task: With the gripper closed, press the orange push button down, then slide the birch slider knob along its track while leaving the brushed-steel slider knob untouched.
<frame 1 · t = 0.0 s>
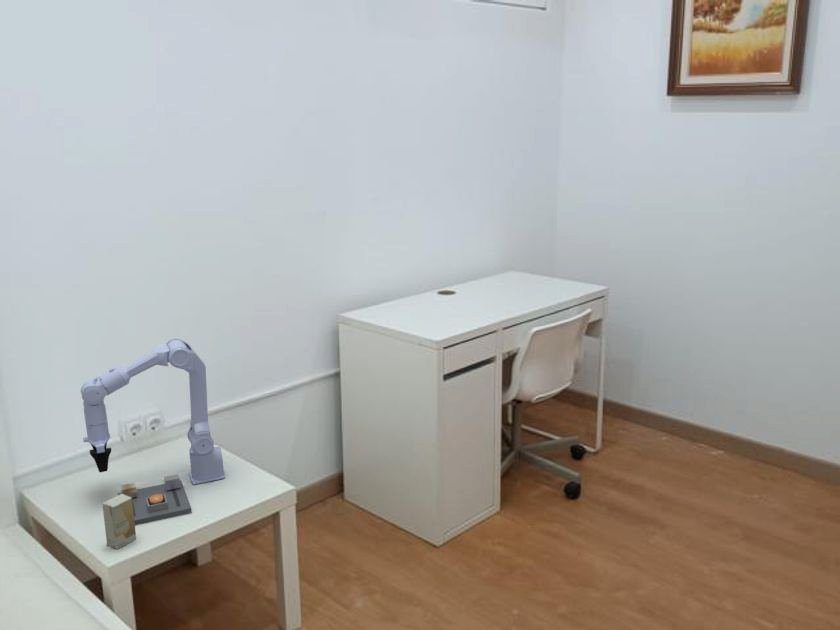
hand: (102, 465, 225), 10 cm above the table, fingers open, 7 cm apart
birch slider: (128, 491, 225), point 4 cm above the table, slide at 0.0 cm
control panel: (154, 505, 224), on the table
push button: (156, 499, 219), point 4 cm above the table, slide at 0.0 cm
steel slider: (172, 482, 229), point 3 cm above the table, slide at 0.0 cm
skincare box: (122, 542, 206), on the table
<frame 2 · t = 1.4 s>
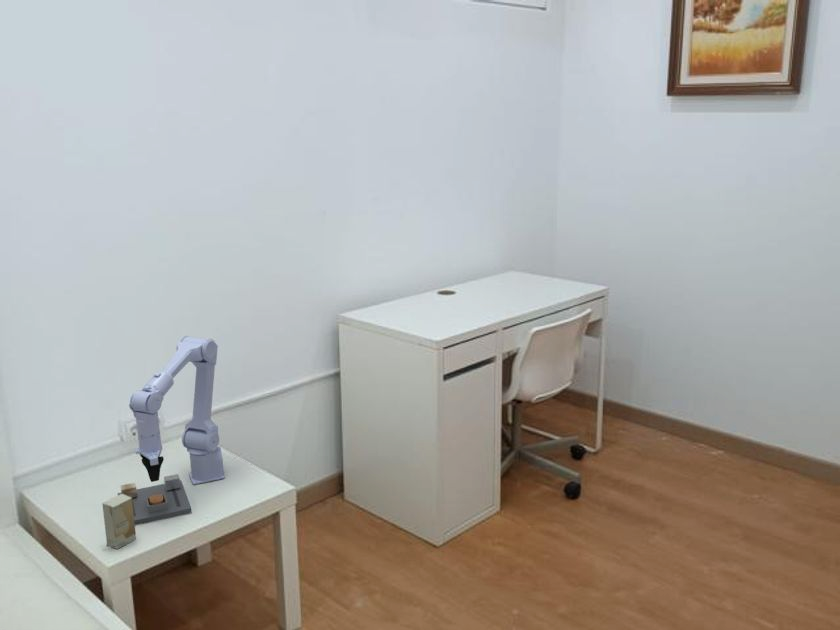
hand: (154, 478, 217), 10 cm above the table, fingers open, 3 cm apart
nothing on the table moved.
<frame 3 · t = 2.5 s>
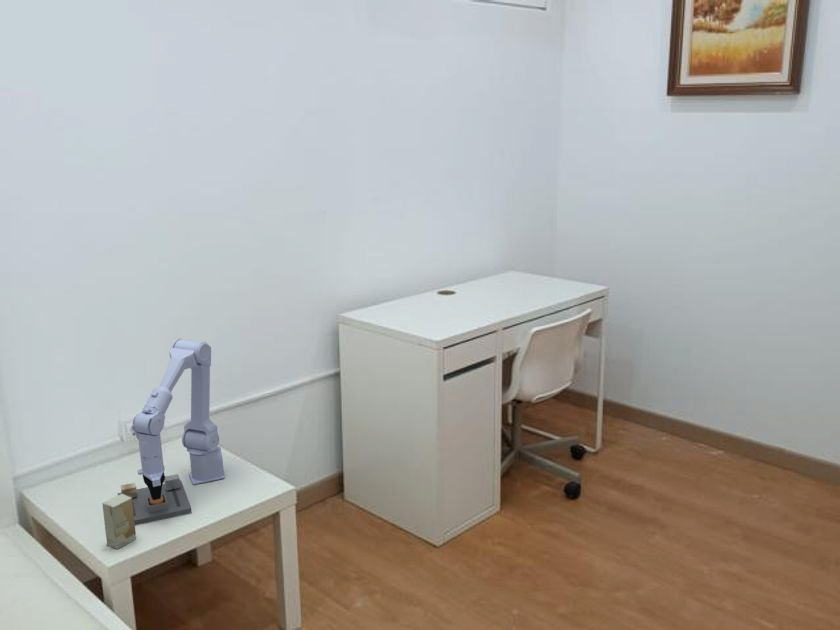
hand: (156, 498, 219), 4 cm above the table, fingers closed, pressing on push button
push button: (156, 500, 219), point 3 cm above the table, slide at 0.3 cm, touching gripper
everything else where it was.
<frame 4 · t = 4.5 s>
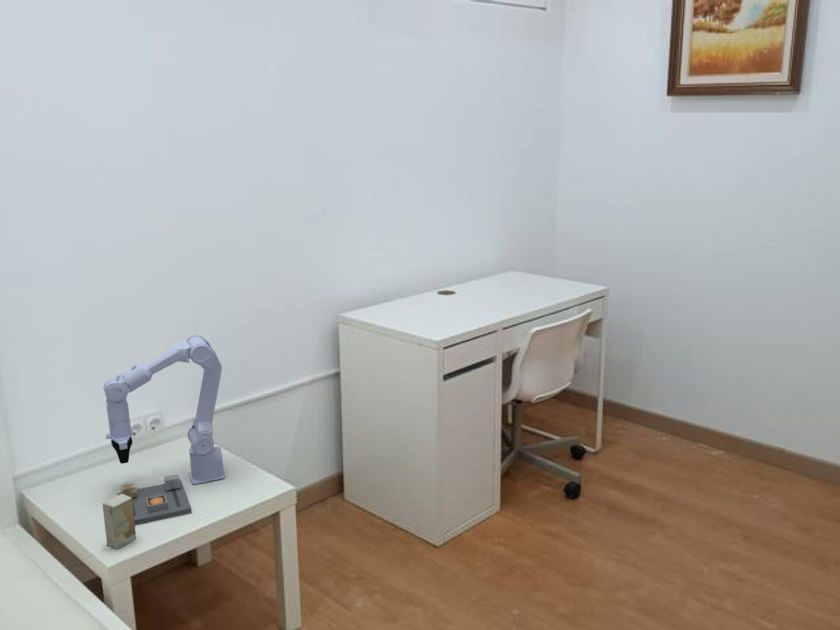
hand: (124, 462, 228), 10 cm above the table, fingers closed
push button: (156, 502, 220), point 3 cm above the table, slide at 0.9 cm
everything else where it was.
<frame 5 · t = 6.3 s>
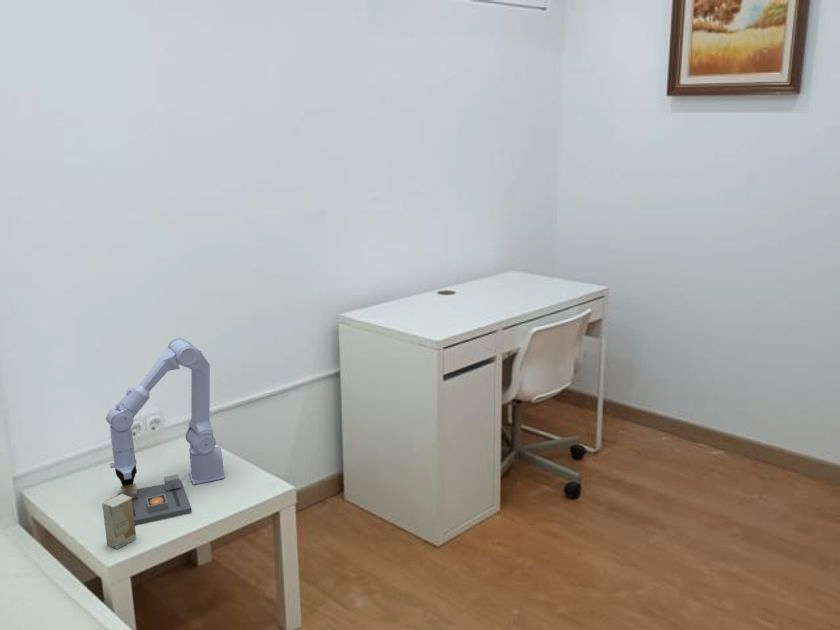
hand: (128, 490, 227), 2 cm above the table, fingers closed
birch slider: (129, 491, 224), point 4 cm above the table, slide at 0.6 cm, touching gripper
everything else where it was.
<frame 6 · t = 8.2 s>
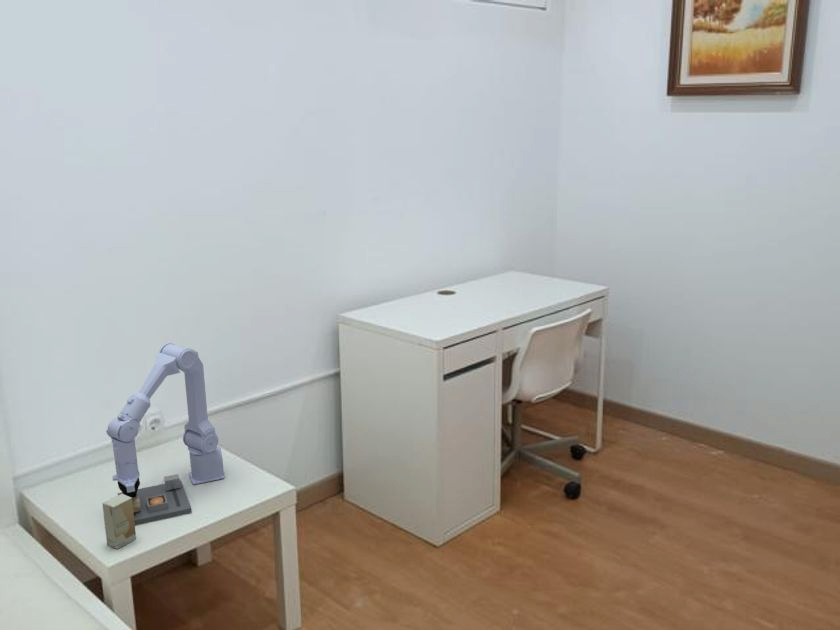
hand: (131, 503, 220), 2 cm above the table, fingers closed
birch slider: (132, 505, 217), point 4 cm above the table, slide at 8.9 cm, touching gripper
everything else where it was.
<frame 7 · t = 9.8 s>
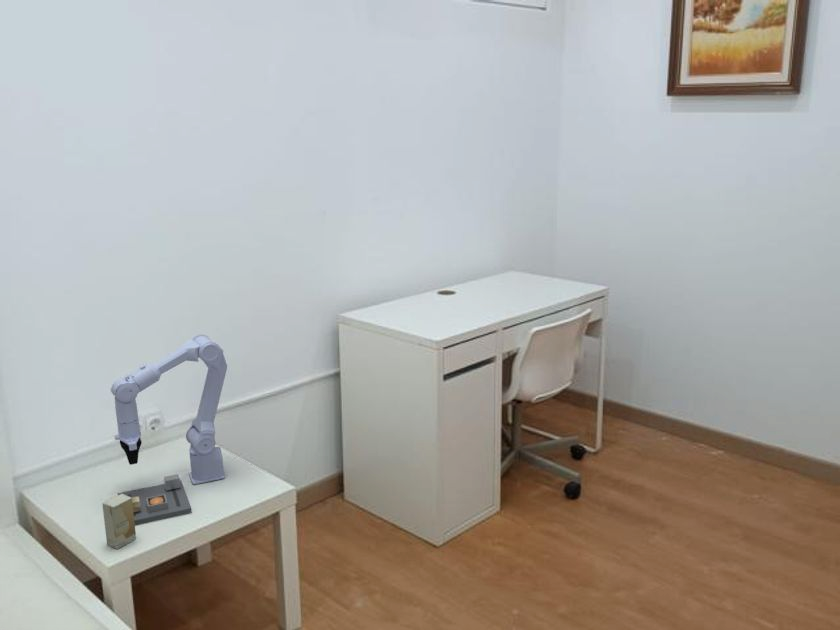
hand: (133, 463, 226), 10 cm above the table, fingers closed
birch slider: (132, 505, 217), point 4 cm above the table, slide at 8.9 cm
everything else where it was.
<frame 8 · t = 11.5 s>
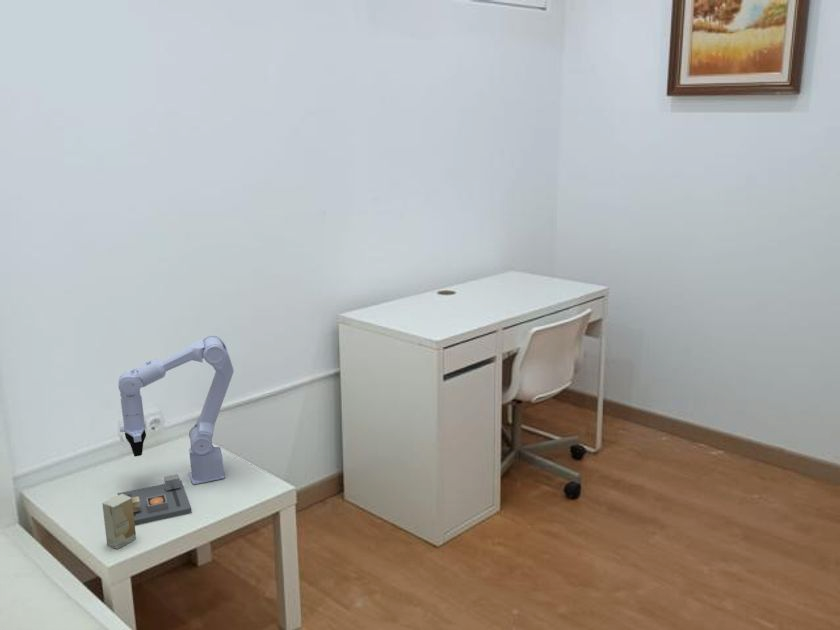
hand: (137, 455, 231), 10 cm above the table, fingers closed
nothing on the table moved.
at the end: birch slider slide at 8.9 cm; push button slide at 0.9 cm; steel slider slide at 0.0 cm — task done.
